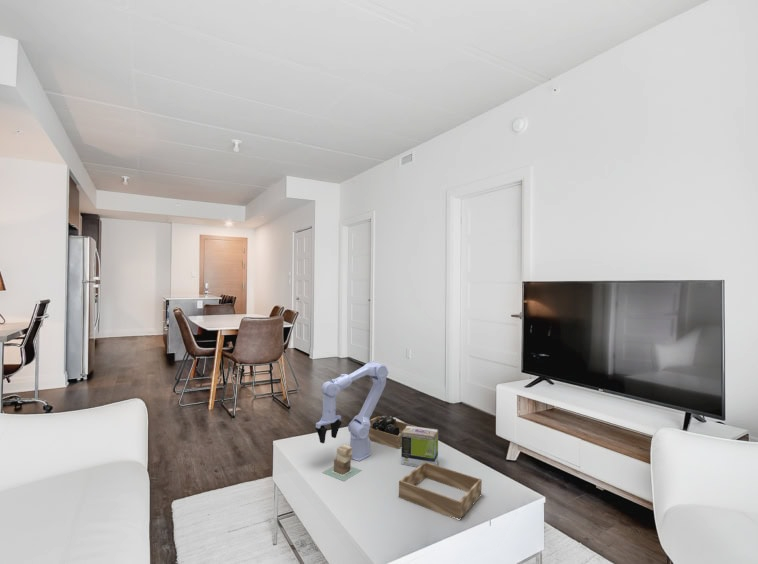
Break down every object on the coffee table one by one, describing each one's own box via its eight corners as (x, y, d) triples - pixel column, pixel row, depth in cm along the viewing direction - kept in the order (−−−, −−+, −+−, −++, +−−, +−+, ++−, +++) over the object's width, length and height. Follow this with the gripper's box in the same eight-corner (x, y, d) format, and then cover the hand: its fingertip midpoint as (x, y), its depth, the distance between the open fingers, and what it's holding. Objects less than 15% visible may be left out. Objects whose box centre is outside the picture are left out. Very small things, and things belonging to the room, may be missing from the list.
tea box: (438, 461, 180) (439, 428, 180) (433, 470, 171) (434, 436, 171) (406, 455, 185) (407, 424, 185) (400, 464, 176) (401, 431, 176)
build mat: (340, 462, 176) (340, 462, 176) (361, 470, 169) (361, 469, 169) (321, 472, 166) (321, 472, 166) (343, 481, 159) (343, 480, 159)
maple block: (343, 456, 170) (343, 445, 170) (351, 459, 168) (352, 447, 168) (336, 460, 166) (337, 448, 166) (344, 463, 164) (345, 451, 164)
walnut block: (341, 467, 171) (341, 455, 171) (350, 470, 168) (350, 458, 168) (333, 471, 167) (334, 459, 167) (342, 475, 164) (343, 463, 164)
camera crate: (378, 426, 222) (378, 416, 222) (416, 437, 208) (416, 426, 208) (358, 436, 206) (358, 425, 206) (397, 449, 192) (398, 436, 192)
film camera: (391, 444, 196) (392, 424, 197) (369, 440, 202) (369, 420, 202) (404, 433, 212) (405, 414, 213) (383, 429, 218) (384, 411, 218)
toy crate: (424, 476, 166) (424, 461, 166) (481, 495, 152) (481, 479, 152) (398, 497, 149) (399, 481, 149) (459, 520, 135) (460, 503, 135)
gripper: (333, 403, 183) (332, 433, 183) (311, 411, 171) (309, 442, 171) (344, 406, 179) (343, 436, 179) (323, 414, 167) (321, 446, 167)
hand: (328, 440), depth 175 cm, fingers open, 7 cm apart
